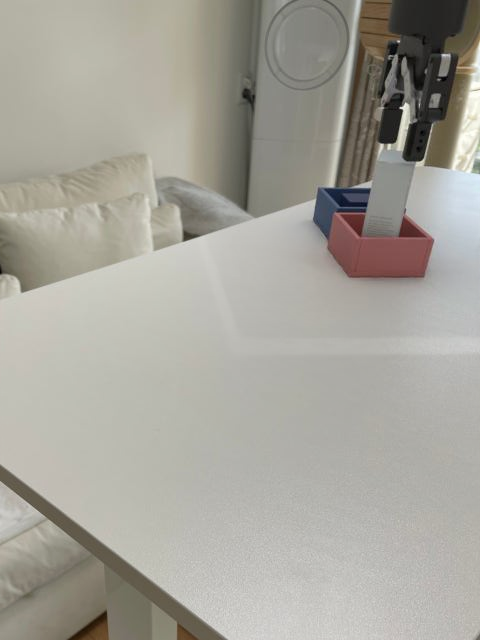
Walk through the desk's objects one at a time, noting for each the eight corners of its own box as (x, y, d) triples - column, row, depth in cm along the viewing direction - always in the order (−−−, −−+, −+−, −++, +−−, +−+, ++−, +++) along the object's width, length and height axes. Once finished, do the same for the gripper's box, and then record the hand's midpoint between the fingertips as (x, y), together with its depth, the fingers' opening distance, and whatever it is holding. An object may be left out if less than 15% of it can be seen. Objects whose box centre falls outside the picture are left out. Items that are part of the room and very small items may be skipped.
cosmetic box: (360, 247, 84) (381, 148, 77) (395, 252, 82) (419, 152, 75) (354, 262, 79) (376, 159, 72) (390, 268, 78) (416, 163, 71)
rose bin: (395, 248, 85) (404, 213, 83) (424, 277, 77) (434, 239, 75) (327, 247, 85) (333, 212, 82) (348, 276, 77) (356, 238, 74)
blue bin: (374, 220, 95) (381, 187, 92) (398, 243, 87) (406, 208, 84) (312, 219, 94) (318, 187, 92) (330, 243, 86) (337, 208, 84)
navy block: (363, 222, 92) (369, 193, 90) (372, 231, 89) (379, 202, 86) (336, 222, 92) (341, 193, 89) (344, 231, 88) (350, 201, 86)
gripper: (506, -19, 59) (456, 168, 68) (443, -23, 70) (408, 137, 80) (425, -20, 58) (386, 168, 68) (375, -24, 70) (348, 137, 79)
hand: (398, 151), depth 74 cm, fingers open, 8 cm apart
